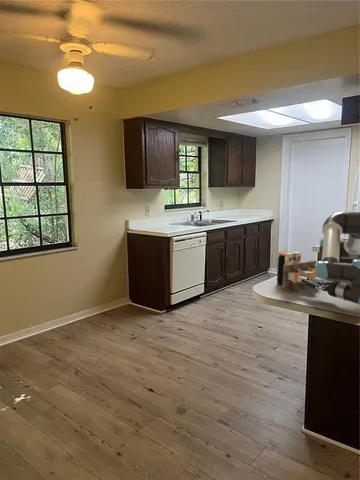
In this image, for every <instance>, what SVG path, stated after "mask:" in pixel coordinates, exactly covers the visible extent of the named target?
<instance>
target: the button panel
mask: <svg viewBox="0 0 360 480" xmlns="http://www.w3.org/2000/svg"><path fill="white" fill-rule="evenodd" d="M292 252H293V253H285V265H283V281H282V285H281V291H283V292H285V293H288V294H294V293H296V290H299V289H303V288H308V286H306V285H305V283H301V282H297V283H293V281H291V280H288V272H290V271H292V272H296V273H298V270H305V271H308V268H313V269H314V268H316V266H317V260H314V259H313V260H305V261H302V260H301V259H302V252H301V251H292Z"/></svg>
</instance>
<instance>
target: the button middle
mask: <svg viewBox="0 0 360 480" xmlns="http://www.w3.org/2000/svg"><path fill="white" fill-rule="evenodd" d="M299 272H301V273H302V275H301V277H305V278H309V279H316V277H315V272H314V271H313V272H309V271H305V270H298V273H299Z"/></svg>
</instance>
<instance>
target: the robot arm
mask: <svg viewBox="0 0 360 480" xmlns="http://www.w3.org/2000/svg"><path fill="white" fill-rule="evenodd" d="M321 228H322V229H321V232H322V234H323V237H322V238H321V239H320V240H319V245H318V246H319V248H318V249H319V252H318V261H316V276H317V277H316V278H315V279H309V278H305V277H301V276H297V281H298V282H301V283H305V285H306V286H308V287H309V288H311V289H313V290H315V291H319V290H321V291H322V292H327V294H328V295H329V296H331V297H333V298H338V299H341V300H343V301H347V302H350V303H353V304H357V305H360V211H338V212H335V213H333V214H331V215H330V216H328V217H327V218H326V219H325V220H324V222H323V224H322V227H321ZM341 235H348V237H347V239H341ZM340 259H346V260H347V259H348V260H352V262H351V263H346V262H340ZM319 278H321V279H319ZM327 279H328V280H327ZM329 280H331V281H329ZM340 280H341V281H340ZM343 281H348V282H350V283H346V282H343ZM308 287H307V288H308Z"/></svg>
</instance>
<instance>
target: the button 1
mask: <svg viewBox="0 0 360 480" xmlns="http://www.w3.org/2000/svg"><path fill="white" fill-rule="evenodd" d="M301 275H302V273H301V272H299V273H296V272H292V271H290V272H288V280H291V281H293V283H297V282H298V281H297V276H301Z"/></svg>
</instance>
